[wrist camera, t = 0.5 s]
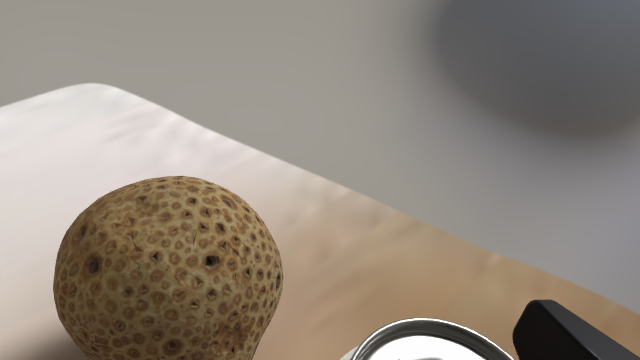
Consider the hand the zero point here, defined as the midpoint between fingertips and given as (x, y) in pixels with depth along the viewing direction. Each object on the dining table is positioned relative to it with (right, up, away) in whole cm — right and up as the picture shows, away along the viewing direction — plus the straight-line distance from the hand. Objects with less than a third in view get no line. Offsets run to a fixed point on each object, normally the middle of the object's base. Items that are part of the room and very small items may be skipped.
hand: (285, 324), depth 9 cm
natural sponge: (-7, -6, +17) cm, 19 cm away
